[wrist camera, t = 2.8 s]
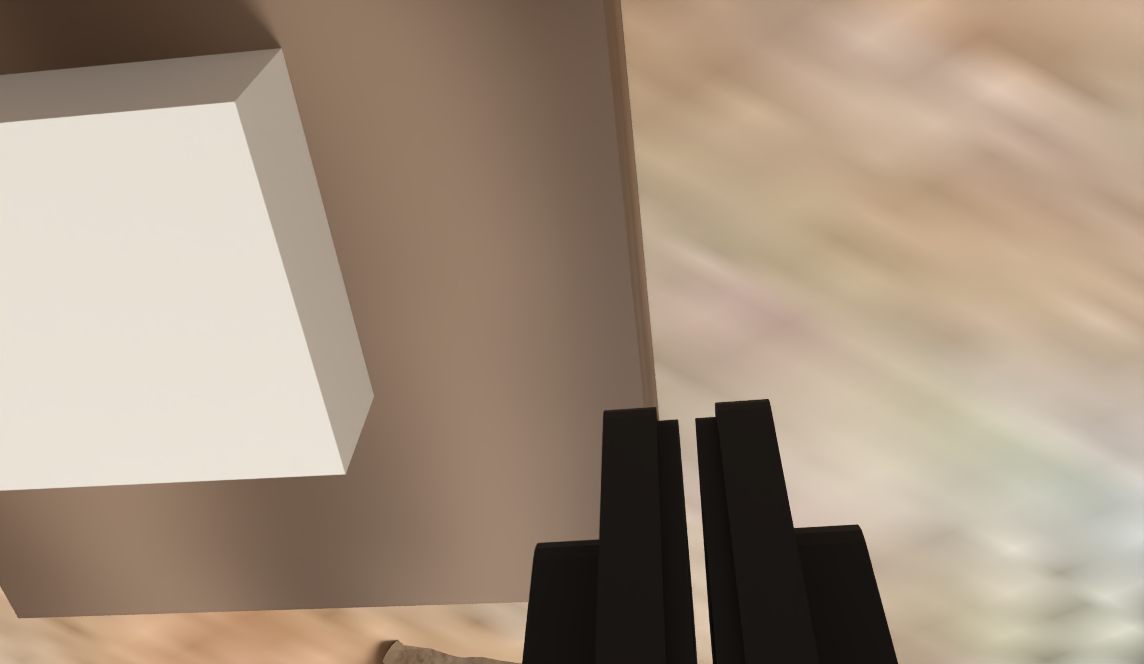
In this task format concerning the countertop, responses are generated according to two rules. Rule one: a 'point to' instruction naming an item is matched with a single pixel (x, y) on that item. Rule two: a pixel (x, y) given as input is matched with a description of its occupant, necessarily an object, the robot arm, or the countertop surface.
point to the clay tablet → (429, 656)
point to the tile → (168, 280)
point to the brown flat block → (393, 309)
